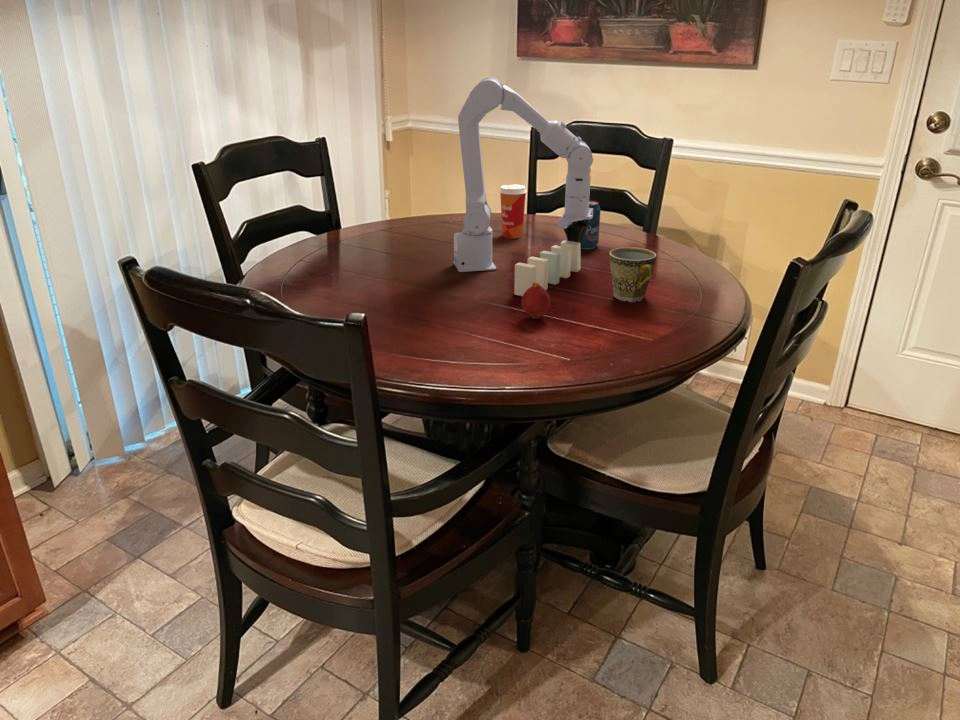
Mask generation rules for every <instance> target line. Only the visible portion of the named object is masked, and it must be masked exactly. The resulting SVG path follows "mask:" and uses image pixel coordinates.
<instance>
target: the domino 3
mask: <svg viewBox="0 0 960 720" xmlns="http://www.w3.org/2000/svg"><path fill="white" fill-rule="evenodd" d="M539 258H543V259H548V260H549V264H548V284H550V285H557V284H559V283H560V278H561V277H560V253H554V252H551V251H547V250H542V251H540V252H539Z"/></svg>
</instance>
